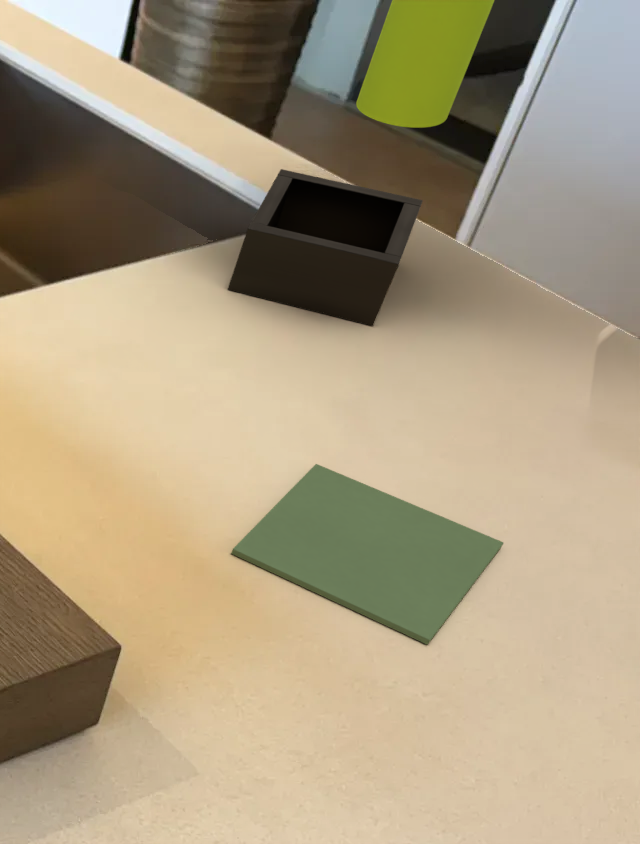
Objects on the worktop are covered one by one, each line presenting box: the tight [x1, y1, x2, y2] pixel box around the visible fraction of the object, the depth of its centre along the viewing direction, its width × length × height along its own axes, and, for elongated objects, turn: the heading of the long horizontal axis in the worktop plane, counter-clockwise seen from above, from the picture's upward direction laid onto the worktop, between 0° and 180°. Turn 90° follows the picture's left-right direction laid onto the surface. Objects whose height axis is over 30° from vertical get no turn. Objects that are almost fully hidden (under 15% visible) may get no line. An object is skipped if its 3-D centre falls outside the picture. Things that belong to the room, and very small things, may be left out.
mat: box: [231, 463, 504, 645], centre depth 83 cm, size 12×12×1 cm
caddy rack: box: [227, 168, 424, 327], centre depth 105 cm, size 12×11×5 cm
